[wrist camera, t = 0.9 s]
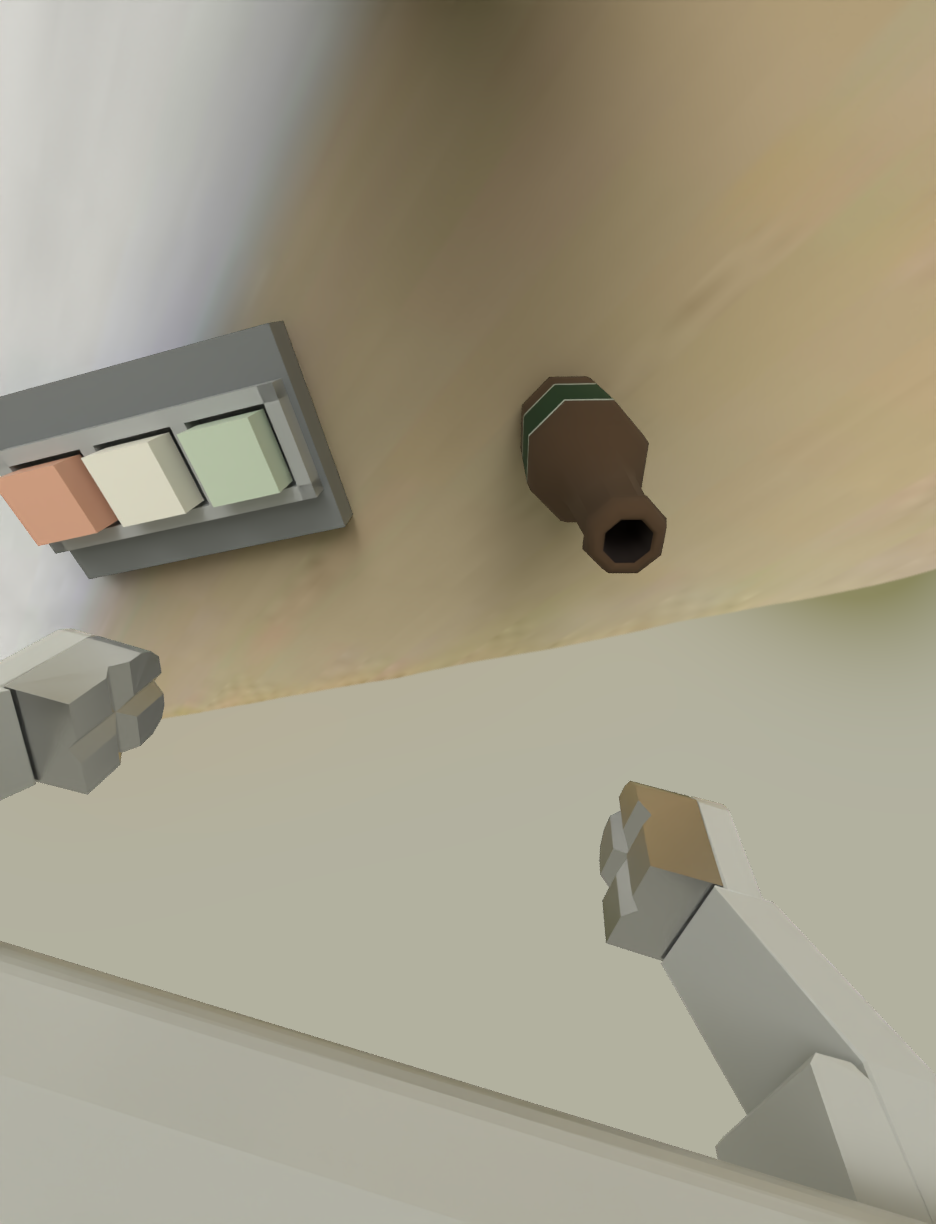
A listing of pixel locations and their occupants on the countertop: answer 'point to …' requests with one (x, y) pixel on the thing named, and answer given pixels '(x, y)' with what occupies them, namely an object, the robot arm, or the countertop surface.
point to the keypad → (174, 402)
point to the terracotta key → (57, 500)
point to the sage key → (236, 458)
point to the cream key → (144, 479)
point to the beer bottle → (592, 471)
